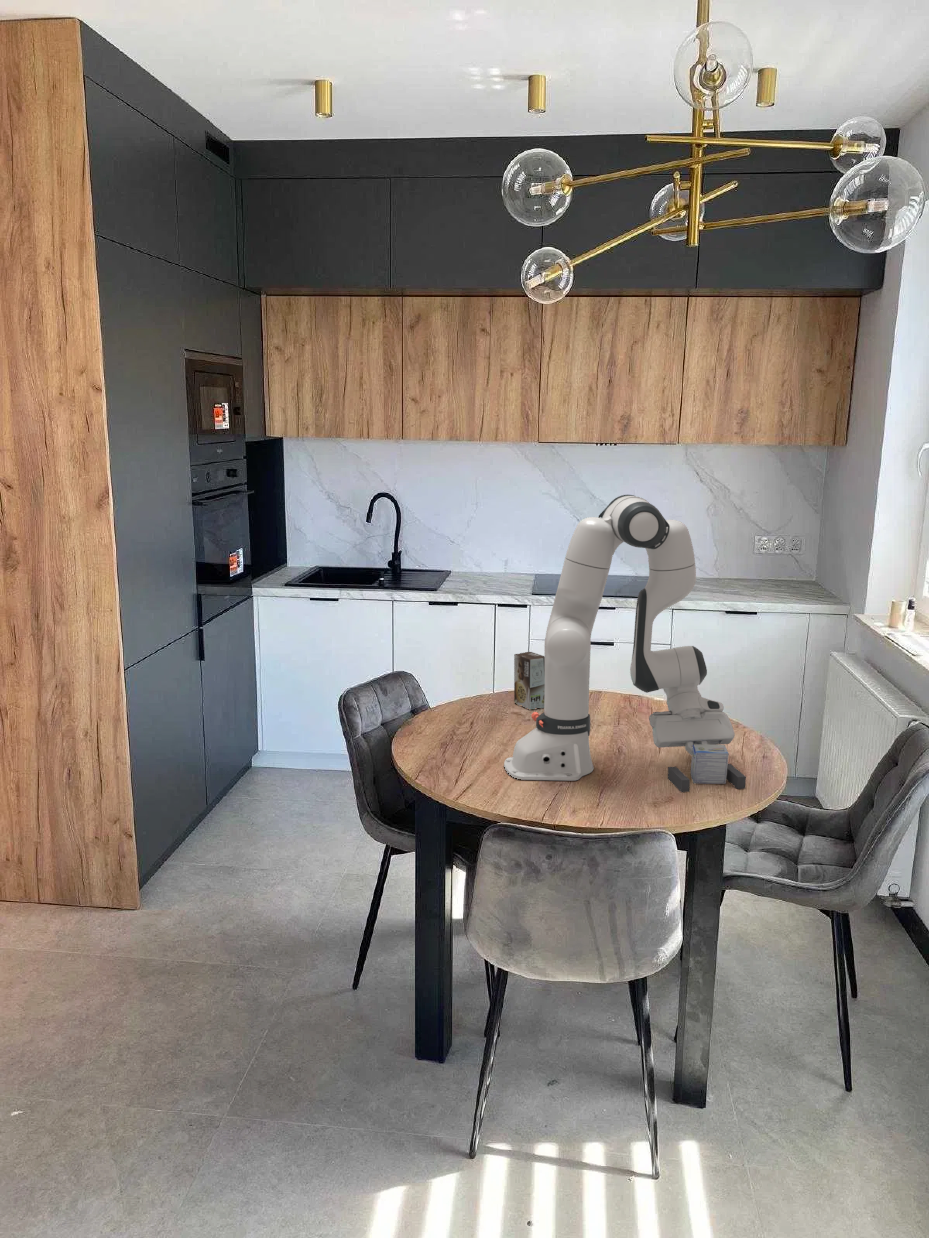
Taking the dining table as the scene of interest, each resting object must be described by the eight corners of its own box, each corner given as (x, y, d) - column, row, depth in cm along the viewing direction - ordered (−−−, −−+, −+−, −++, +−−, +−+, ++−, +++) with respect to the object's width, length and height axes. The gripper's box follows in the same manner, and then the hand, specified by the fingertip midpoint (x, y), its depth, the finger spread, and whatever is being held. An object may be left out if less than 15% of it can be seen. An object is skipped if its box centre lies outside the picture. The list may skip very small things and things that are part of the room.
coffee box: (546, 707, 289) (547, 656, 286) (529, 710, 286) (530, 659, 283) (530, 700, 297) (530, 650, 293) (513, 703, 293) (513, 653, 290)
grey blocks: (681, 792, 221) (681, 780, 221) (667, 778, 230) (668, 766, 230) (745, 788, 224) (746, 776, 223) (729, 775, 232) (730, 763, 232)
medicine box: (722, 775, 230) (725, 744, 227) (726, 784, 226) (729, 752, 223) (689, 775, 231) (692, 743, 228) (692, 784, 227) (695, 752, 224)
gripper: (650, 706, 234) (663, 756, 226) (728, 702, 237) (743, 752, 229) (644, 718, 239) (655, 768, 231) (720, 714, 242) (734, 763, 234)
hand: (700, 760), depth 230 cm, fingers closed
